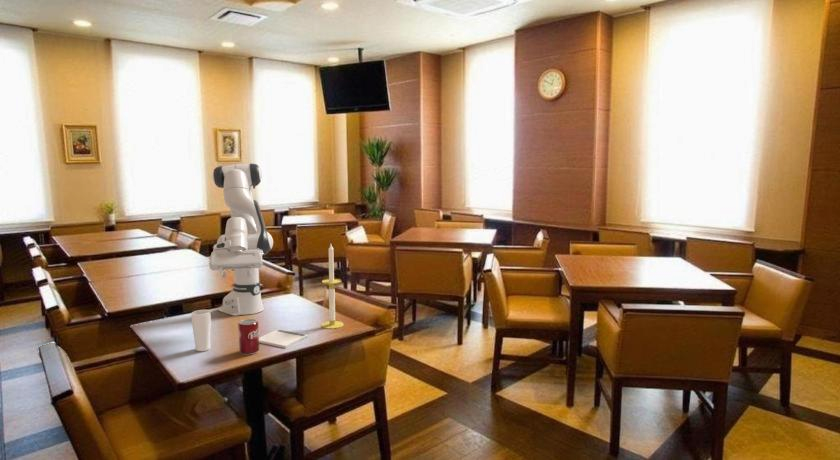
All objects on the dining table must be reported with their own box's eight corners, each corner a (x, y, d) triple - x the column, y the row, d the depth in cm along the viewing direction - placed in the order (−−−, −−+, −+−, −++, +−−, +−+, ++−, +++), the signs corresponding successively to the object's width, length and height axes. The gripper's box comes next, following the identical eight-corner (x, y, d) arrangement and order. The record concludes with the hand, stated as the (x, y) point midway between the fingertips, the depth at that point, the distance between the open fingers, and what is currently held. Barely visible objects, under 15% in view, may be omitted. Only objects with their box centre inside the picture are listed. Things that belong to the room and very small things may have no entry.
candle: (337, 320, 225) (335, 240, 220) (347, 326, 217) (346, 243, 212) (317, 324, 219) (315, 242, 214) (327, 330, 211) (325, 245, 206)
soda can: (235, 355, 183) (234, 324, 182) (245, 347, 191) (244, 318, 189) (253, 356, 182) (252, 325, 181) (262, 349, 190) (261, 319, 188)
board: (254, 341, 197) (254, 339, 197) (278, 331, 210) (278, 328, 209) (285, 348, 190) (285, 345, 190) (308, 337, 203) (308, 334, 203)
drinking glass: (205, 353, 185) (203, 315, 183) (189, 352, 186) (187, 314, 184) (216, 347, 191) (214, 310, 189) (200, 345, 193) (198, 308, 191)
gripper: (262, 252, 207) (263, 279, 199) (210, 254, 200) (209, 282, 192) (262, 243, 203) (264, 270, 194) (209, 245, 196) (208, 273, 188)
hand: (236, 276), depth 193 cm, fingers open, 8 cm apart
